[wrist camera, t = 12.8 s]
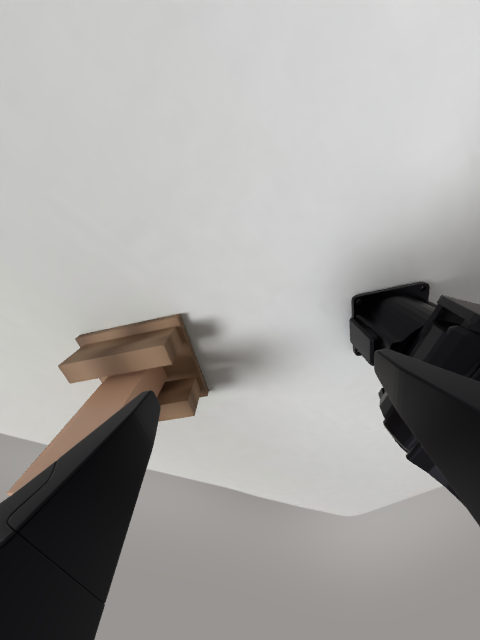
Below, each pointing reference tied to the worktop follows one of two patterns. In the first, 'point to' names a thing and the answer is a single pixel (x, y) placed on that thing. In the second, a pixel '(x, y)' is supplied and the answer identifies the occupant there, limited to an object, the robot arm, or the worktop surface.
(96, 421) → the clay block
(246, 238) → the worktop surface
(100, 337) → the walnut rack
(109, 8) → the worktop surface
